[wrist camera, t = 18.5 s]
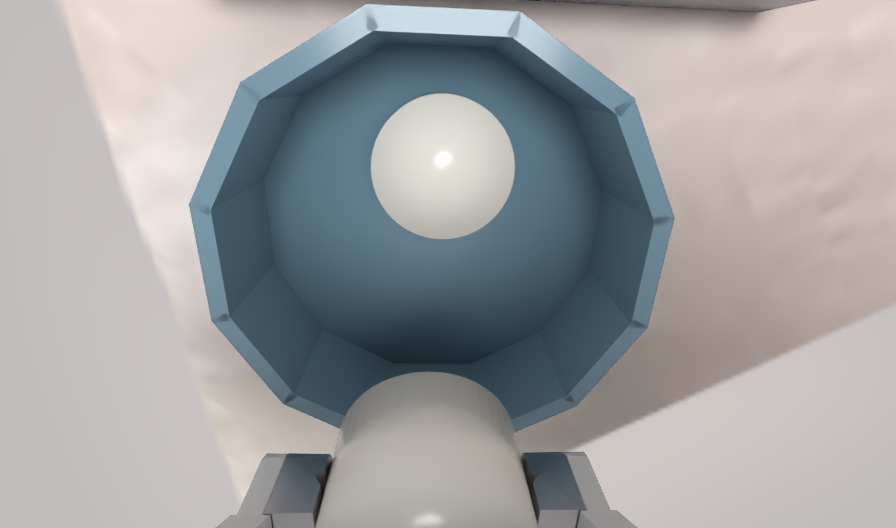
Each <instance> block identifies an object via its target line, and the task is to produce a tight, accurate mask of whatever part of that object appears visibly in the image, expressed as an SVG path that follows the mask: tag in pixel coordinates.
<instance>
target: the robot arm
mask: <svg viewBox="0 0 896 528" xmlns="http://www.w3.org/2000/svg"><path fill="white" fill-rule="evenodd" d="M521 460H522V464H523V468H524V472H525V476H526V480H527V484H528V488H529V492H530V496H531V500H532V504H533V508H534V512H535V516H536V520H537V524H538V528H637V527H636V526H634V525H633V524H632V523H631V522H630V521H629V520H627V519H626V518H625V517H624V516H623V515H621V514H620V513H619V512H618V511H617V510H616V511H615V510H610V508H609V506H608V504H607V501H606V499H605V496H604V494H603V492H602V490H601V487H600V485H599V483H598V480H597V478H596V476H595V473H594V471H593V469H592V466H591V464H590V462H589V460H588V457H587V455H586V454H585V453H584V452H563V453H562V452H540V453H523V454H522V456H521ZM331 463H332V456H331V455H330V454H268V453H267V454H266V455H265V457H264V458H263V459H262V461H261V463H260V465H259V467H258V470H257V472H256V474H255V476H254V479H253V481H252V483H251V485H250V488H249V490H248V492H247V494H246V497H245V499H244V501H243V503H242V506H241V508H240V510H239V512H238V514H237V515H230V516H229V517H228V518H227V519H226V520H224V521H223V522H222V523H221V524H220V525H218V526H217V527H216V528H315V526H316V522H317V518H318V514H319V510H320V506H321V502H322V498H323V494H324V491H325V487H326V483H327V479H328V475H329V471H330V467H331Z"/></svg>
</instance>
